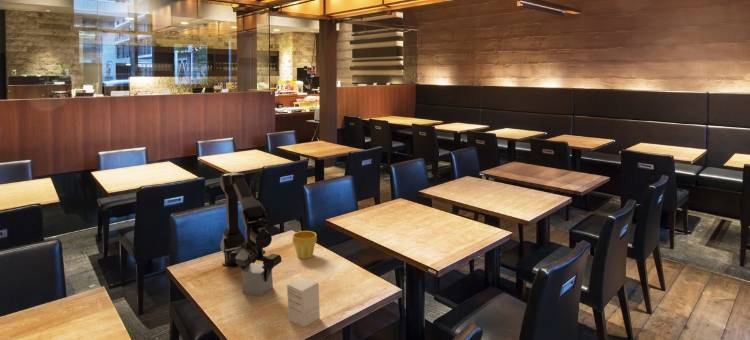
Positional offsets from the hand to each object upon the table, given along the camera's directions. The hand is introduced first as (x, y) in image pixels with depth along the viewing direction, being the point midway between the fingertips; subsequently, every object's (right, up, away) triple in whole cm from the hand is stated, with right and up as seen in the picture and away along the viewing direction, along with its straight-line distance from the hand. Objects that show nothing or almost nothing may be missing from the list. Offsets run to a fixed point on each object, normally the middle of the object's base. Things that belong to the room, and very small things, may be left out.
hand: (256, 279), depth 168 cm
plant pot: (+13, +2, +33) cm, 35 cm away
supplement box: (+20, -9, -18) cm, 29 cm away
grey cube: (0, -4, +1) cm, 5 cm away
